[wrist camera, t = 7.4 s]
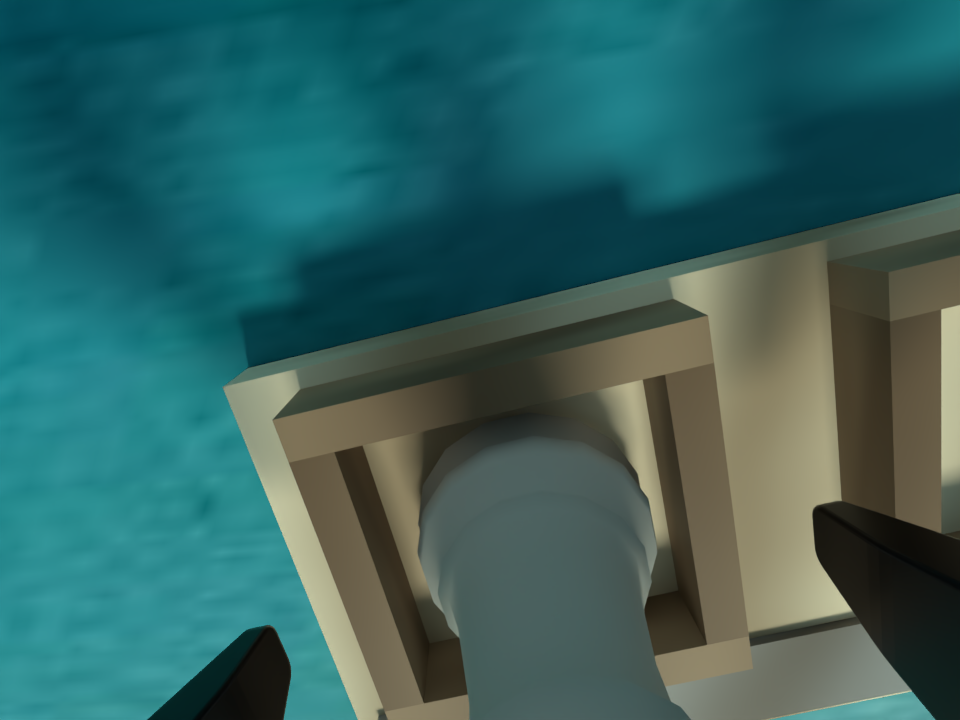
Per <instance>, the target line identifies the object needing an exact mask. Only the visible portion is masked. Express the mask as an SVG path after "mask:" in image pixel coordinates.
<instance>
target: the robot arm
mask: <svg viewBox="0 0 960 720" xmlns="http://www.w3.org/2000/svg"><path fill="white" fill-rule="evenodd" d="M812 520H813V533H814V545H815V552H816V555H817V558H818V560H819V562H820V564H821V566H822V567H823V569H824V570H825V572H826V573H827V575H828V576H829V578H830V579H831V580H832V582H833V583H834V585H835V586H836V588H837V589H838V591H839V592H840V594H841V595H842V597H843V598H844V600H845V601H846V603H847V604H848V606H849V607H850V608H851V610H852V611H853V613H854V614H855V616H856V617H857V619H858V620H859V622H860V623H861V625H862V626H863V628H864V629H865V631H866V632H867V633H868V635H869V636H870V638H871V639H872V641H873V642H874V644H875V645H876V646H877V648H878V649H879V651H880V652H881V653H882V655H883V656H884V657H885V659H886V660H887V661H888V662H889V664H890V665H891V666H892V667H893V669H894V670H895V671H896V672H897V674H898V675H899V676H900V677H901V678H902V680H903V681H904V682H905V683H906V684H907V686H908V687H909V688H910V689H911V690H912V692H913V693H914V694H915V695H916V697H917V698H918V699H919V700H920V701H921V703H922V704H923V705H924V706H925V707H926V709H927V710H928V711H929V712H930V713H931V715H932V716H933V717H934V718H935V720H960V539H958V538H955V537H952V536H949V535H946V534H943V533H940V532H936V531H933V530H930V529H927V528H924V527H921V526H918V525H915V524H912V523H909V522H906V521H903V520H900V519H897V518H894V517H891V516H888V515H885V514H882V513H878V512H875V511H872V510H869V509H866V508H863V507H860V506H857V505H854V504H851V503H848V502H845V501H833V502H829V503H824V504H820V505H816V506H815V507H814V508H813V511H812ZM290 680H291V666H290V662H289V659H288V657H287V654H286V652H285V650H284V648H283V645H282V643H281V641H280V638H279V636H278V634H277V632H276V630H275V628H274V627H272V626H270V625H265V626H261V627H256V628H251V629H248V630H246V631H245V632H243V633H242V634H241V635H240V636H239V637H238V638H237V639H236V640H235V641H233V642H232V643H231V644H230V645H229V646H228V647H227V648H226V649H225V650H224V651H222V652H221V653H220V654H219V655H218V656H217V657H216V658H215V659H214V660H213V661H211V662H210V663H209V664H208V665H207V666H206V667H205V668H204V669H203V670H201V671H200V672H199V673H198V674H197V675H196V676H195V677H194V678H193V679H192V680H190V681H189V682H188V683H187V684H186V685H185V686H184V687H183V688H182V689H181V690H179V691H178V692H177V693H176V694H175V695H174V696H173V697H172V698H171V699H170V700H168V701H167V702H166V703H165V704H164V705H163V706H162V707H161V708H160V709H158V710H157V711H156V712H155V713H154V714H153V715H152V716H151V717H150V718H149V719H147V720H283V719H284V714H285V708H286V702H287V697H288V691H289V685H290Z"/></svg>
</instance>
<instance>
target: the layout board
mask: <svg viewBox="0 0 960 720" xmlns="http://www.w3.org/2000/svg"><path fill="white" fill-rule="evenodd" d="M223 389H224V391H225V394H226V396H227V399H228V401H229V404H230V406H231V408H232V411H233V413H234V416H235V418H236V421H237V423H238V426H239V428H240V431H241V433H242V436H243V438H244V440H245V443H246V445H247V448H248V450H249V453H250V455H251V458H252V460H253V463H254V465H255V467H256V470H257V472H258V475H259V477H260V480H261V482H262V485H263V487H264V490H265V492H266V495H267V497H268V499H269V502H270V504H271V507H272V509H273V512H274V514H275V517H276V519H277V522H278V524H279V526H280V529H281V531H282V534H283V536H284V539H285V541H286V544H287V546H288V549H289V551H290V554H291V556H292V558H293V561H294V563H295V566H296V568H297V571H298V573H299V576H300V578H301V581H302V583H303V586H304V588H305V590H306V593H307V595H308V598H309V600H310V603H311V605H312V608H313V610H314V613H315V615H316V617H317V620H318V622H319V625H320V627H321V630H322V632H323V635H324V637H325V640H326V642H327V645H328V647H329V649H330V652H331V654H332V657H333V659H334V662H335V664H336V667H337V669H338V672H339V674H340V676H341V679H342V681H343V684H344V686H345V689H346V691H347V694H348V696H349V699H350V701H351V704H352V706H353V708H354V711H355V713H356V716H357V718H358V720H469V699H468V693H467V686H466V679H465V672H464V665H463V659H462V652H461V645H460V638H459V637H458V636H457V635H456V634H455V633H454V632H453V631H452V630H451V629H450V628H449V627H448V624H447V621H446V617H445V614H444V613H443V612H442V611H441V610H440V609H439V608H438V607H437V606H436V605H435V604H434V602H433V599H432V596H431V593H430V590H429V587H428V584H427V581H426V578H425V575H424V572H423V569H422V566H421V563H420V560H419V556H418V553H417V550H418V542H419V534H420V529H419V526H418V520H419V512H420V504H421V496H422V489H423V484H424V483H425V481H426V479H427V478H428V476H429V475H430V473H431V471H432V470H433V468H434V467H435V465H436V464H437V462H438V460H439V459H440V457H441V456H442V454H443V452H444V451H445V449H447V448H448V447H450V446H451V445H452V444H454V443H455V442H457V441H458V440H460V439H461V438H462V437H464V436H465V435H467V434H468V433H470V432H471V431H472V430H474V429H475V428H477V427H478V426H480V425H481V424H483V423H487V422H491V421H495V420H499V419H503V418H507V417H511V416H516V415H520V414H524V413H528V412H529V413H537V414H545V415H552V416H560V417H568V418H575V419H577V420H578V421H580V422H582V423H584V424H585V425H587V426H589V427H591V428H593V429H594V430H596V431H598V432H600V433H601V434H603V435H605V436H607V437H608V438H610V439H612V440H613V441H614V442H615V443H616V445H617V446H618V447H619V449H620V450H621V451H622V453H623V454H624V456H625V457H626V458H627V460H628V461H629V462H630V464H631V465H632V466H633V468H634V469H635V470H636V472H637V473H638V478H639V483H640V488H641V489H642V491H643V492H644V493H645V495H646V496H647V497H648V499H649V504H650V509H651V515H652V520H653V525H654V531H655V536H656V545H657V555H656V559H655V562H654V566H653V570H652V573H651V581H652V583H651V586H650V590H649V593H648V597H647V600H646V604H645V608H644V613H645V618H646V622H647V626H648V631H649V635H650V639H651V643H652V648H653V652H654V656H655V661H656V665H657V667H658V670H659V672H660V675H661V677H662V680H663V682H664V685H665V687H666V690H667V692H668V695H669V697H670V700H671V702H673V703H674V704H676V705H678V706H680V707H681V708H682V709H683V710H684V712H685V713H686V714H687V715H688V716H689V718H690V719H691V720H769V719H774V718H779V717H784V716H790V715H795V714H800V713H805V712H810V711H815V710H820V709H825V708H830V707H835V706H840V705H845V704H850V703H855V702H860V701H865V700H870V699H875V698H880V697H885V696H890V695H895V694H900V693H906V692H911V691H912V690H911V689H910V688H909V687H908V686H907V684H906V683H905V682H904V681H903V680H902V678H901V677H900V676H899V675H898V674H897V672H896V671H895V670H894V669H893V667H892V666H891V665H890V664H889V662H888V661H887V660H886V659H885V657H884V656H883V655H882V653H881V652H880V651H879V649H878V648H877V646H876V645H875V644H874V642H873V641H872V639H871V638H870V636H869V635H868V633H867V632H866V631H865V629H864V628H863V626H862V625H861V623H860V622H859V620H858V619H857V617H856V616H855V614H854V613H853V611H852V610H851V608H850V607H849V606H848V604H847V603H846V601H845V600H844V598H843V597H842V595H841V594H840V592H839V591H838V589H837V588H836V586H835V585H834V583H833V582H832V580H831V579H830V578H829V576H828V575H827V573H826V572H825V570H824V569H823V567H822V566H821V564H820V562H819V560H818V558H817V555H816V552H815V545H814V533H813V520H812V511H813V508H814V507H815V506H816V505H820V504H824V503H829V502H833V501H845V502H848V503H851V504H854V505H857V506H860V507H863V508H866V509H869V510H872V511H875V512H878V513H882V514H885V515H888V516H891V517H894V518H897V519H900V520H903V521H906V522H909V523H912V524H915V525H918V526H921V527H924V528H927V529H930V530H933V531H936V532H940V533H943V534H946V535H949V536H952V537H955V538H958V539H960V193H959V194H955V195H951V196H946V197H942V198H938V199H934V200H930V201H926V202H922V203H918V204H914V205H910V206H906V207H902V208H898V209H894V210H890V211H885V212H881V213H877V214H873V215H869V216H865V217H861V218H857V219H853V220H849V221H845V222H841V223H837V224H833V225H828V226H824V227H820V228H816V229H812V230H808V231H804V232H800V233H796V234H792V235H788V236H784V237H780V238H776V239H772V240H767V241H763V242H759V243H755V244H751V245H747V246H743V247H739V248H735V249H731V250H727V251H723V252H719V253H715V254H710V255H706V256H702V257H698V258H694V259H690V260H686V261H682V262H678V263H674V264H670V265H666V266H662V267H658V268H654V269H649V270H645V271H641V272H637V273H633V274H629V275H625V276H621V277H617V278H613V279H609V280H605V281H601V282H597V283H593V284H588V285H584V286H580V287H576V288H572V289H568V290H564V291H560V292H556V293H552V294H548V295H544V296H540V297H536V298H531V299H527V300H523V301H519V302H515V303H511V304H507V305H503V306H499V307H495V308H491V309H487V310H483V311H479V312H475V313H470V314H466V315H462V316H458V317H454V318H450V319H446V320H442V321H438V322H434V323H430V324H426V325H422V326H418V327H414V328H409V329H405V330H401V331H397V332H393V333H389V334H385V335H381V336H377V337H373V338H369V339H365V340H361V341H357V342H352V343H348V344H344V345H340V346H336V347H332V348H328V349H324V350H320V351H316V352H312V353H308V354H304V355H300V356H296V357H291V358H287V359H283V360H279V361H275V362H271V363H267V364H263V365H259V366H255V367H251V368H247V369H246V370H245V371H243V372H242V373H241V374H240V375H238V376H237V377H236V378H234V379H233V380H232V381H230V382H229V383H228V384H226V385H225V386H224V387H223Z"/></svg>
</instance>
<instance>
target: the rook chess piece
mask: <svg viewBox="0 0 960 720" xmlns="http://www.w3.org/2000/svg"><path fill="white" fill-rule="evenodd" d="M418 526H419V529H420V534H419V542H418V550H417V553H418V556H419V560H420V563H421V566H422V569H423V572H424V575H425V578H426V581H427V584H428V587H429V590H430V593H431V596H432V599H433V602H434V604H435V605H436V606H437V607H438V608H439V609H440V610H441V611H442V612H443V613H444V614H445V617H446V621H447V624H448V627H449V628H450V629H451V630H452V631H453V632H454V633H455V634H456V635H457V636H458V637H459V638H460V645H461V652H462V659H463V665H464V672H465V679H466V686H467V693H468V699H469V720H691V719H690V718H689V716H688V715H687V714H686V713H685V712H684V710H683V709H682V708H681V707H680V706H678V705H676V704H674V703H673V702H671V700H670V697H669V695H668V692H667V690H666V687H665V685H664V682H663V680H662V677H661V675H660V672H659V670H658V667H657V665H656V661H655V656H654V652H653V648H652V643H651V639H650V635H649V631H648V626H647V622H646V618H645V613H644V608H645V604H646V600H647V597H648V593H649V590H650V586H651V583H652V581H651V573H652V570H653V566H654V562H655V559H656V555H657V545H656V536H655V531H654V525H653V520H652V515H651V509H650V504H649V499H648V497H647V496H646V495H645V493H644V492H643V491H642V489H641V488H640V483H639V478H638V473H637V472H636V470H635V469H634V468H633V466H632V465H631V464H630V462H629V461H628V460H627V458H626V457H625V456H624V454H623V453H622V451H621V450H620V449H619V447H618V446H617V445H616V443H615V442H614V441H613V440H612V439H610V438H608V437H607V436H605V435H603V434H601V433H600V432H598V431H596V430H594V429H593V428H591V427H589V426H587V425H585V424H584V423H582V422H580V421H578V420H577V419H575V418H568V417H560V416H552V415H545V414H537V413H529V412H528V413H524V414H520V415H516V416H511V417H507V418H503V419H499V420H495V421H491V422H487V423H483V424H481V425H480V426H478V427H477V428H475V429H474V430H472V431H471V432H470V433H468V434H467V435H465V436H464V437H462V438H461V439H460V440H458V441H457V442H455V443H454V444H452V445H451V446H450V447H448V448H447V449H445V451H444V452H443V454H442V456H441V457H440V459H439V460H438V462H437V464H436V465H435V467H434V468H433V470H432V471H431V473H430V475H429V476H428V478H427V479H426V481H425V483H424V484H423V489H422V496H421V504H420V512H419V520H418Z"/></svg>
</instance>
